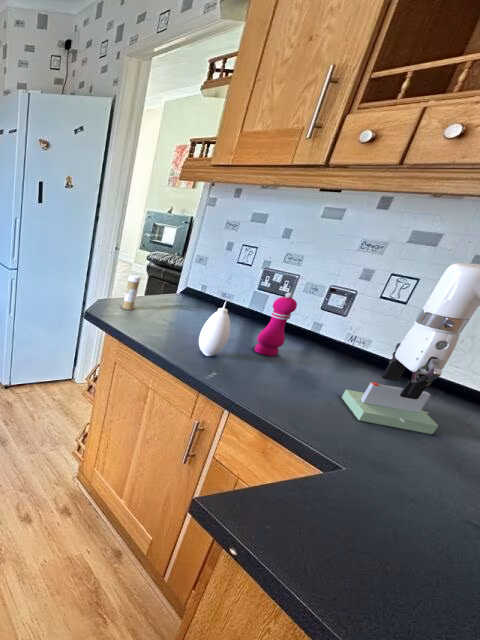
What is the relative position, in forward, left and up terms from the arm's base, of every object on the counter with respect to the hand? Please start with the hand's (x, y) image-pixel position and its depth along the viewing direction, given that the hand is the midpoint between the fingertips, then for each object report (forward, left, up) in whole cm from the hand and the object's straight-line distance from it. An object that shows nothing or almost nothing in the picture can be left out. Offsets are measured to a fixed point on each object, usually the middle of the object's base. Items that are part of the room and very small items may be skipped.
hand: (398, 388), depth 100 cm
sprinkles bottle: (+65, -59, -8) cm, 88 cm away
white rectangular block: (0, 0, -5) cm, 5 cm away
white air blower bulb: (+38, -21, -8) cm, 44 cm away
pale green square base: (0, 0, -8) cm, 8 cm away
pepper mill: (+20, -32, -8) cm, 38 cm away
